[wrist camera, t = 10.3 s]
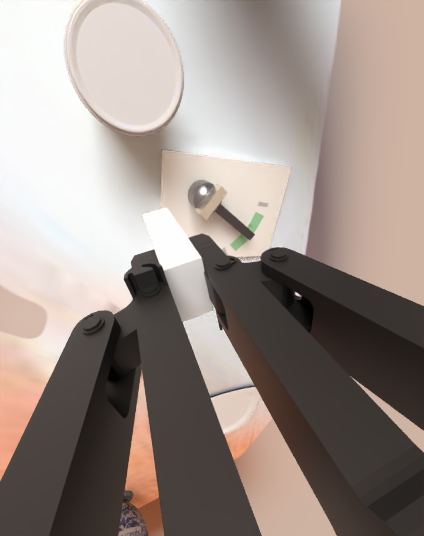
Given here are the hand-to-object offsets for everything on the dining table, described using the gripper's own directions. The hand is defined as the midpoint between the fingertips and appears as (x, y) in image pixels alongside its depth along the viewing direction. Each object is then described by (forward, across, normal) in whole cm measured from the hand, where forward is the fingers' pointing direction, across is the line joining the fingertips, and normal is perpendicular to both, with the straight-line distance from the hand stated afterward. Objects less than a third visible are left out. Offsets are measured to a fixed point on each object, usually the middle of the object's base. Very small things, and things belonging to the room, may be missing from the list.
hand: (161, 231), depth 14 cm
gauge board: (+24, +13, -10) cm, 29 cm away
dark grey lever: (+22, +12, -9) cm, 26 cm away
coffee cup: (+24, +2, +9) cm, 26 cm away
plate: (+24, +3, -78) cm, 81 cm away
